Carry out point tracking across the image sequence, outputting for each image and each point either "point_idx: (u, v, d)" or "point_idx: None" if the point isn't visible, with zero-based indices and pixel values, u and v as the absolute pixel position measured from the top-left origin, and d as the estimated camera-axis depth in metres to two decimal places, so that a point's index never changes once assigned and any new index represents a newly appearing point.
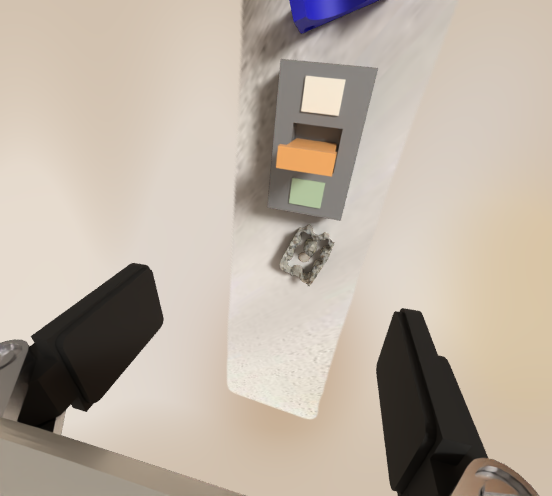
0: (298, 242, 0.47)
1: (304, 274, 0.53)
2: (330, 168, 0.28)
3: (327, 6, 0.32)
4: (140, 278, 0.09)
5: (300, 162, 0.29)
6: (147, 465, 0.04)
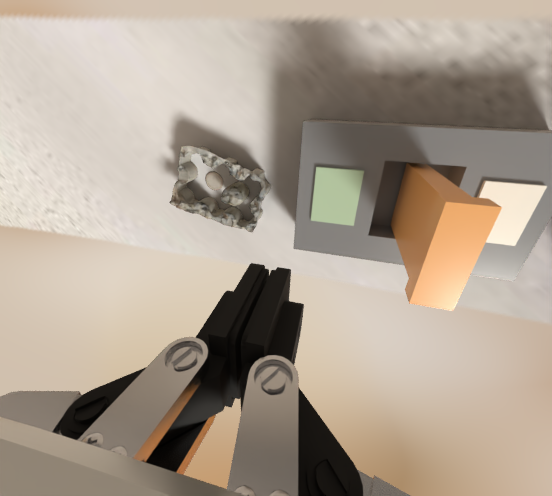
0: (240, 178, 0.28)
1: (185, 184, 0.32)
2: (426, 301, 0.15)
3: None
4: (264, 278, 0.10)
5: (448, 254, 0.14)
6: (147, 464, 0.04)
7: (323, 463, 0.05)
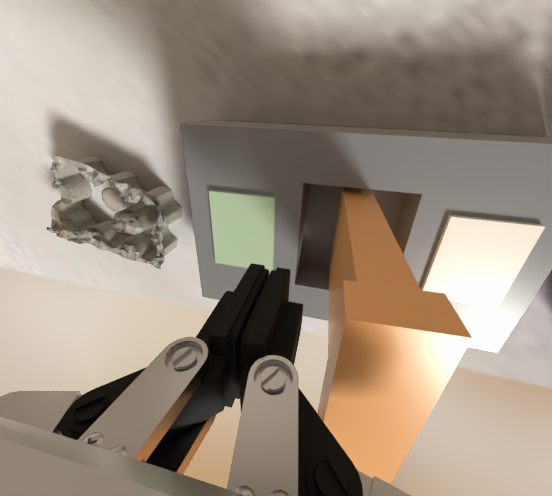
0: (131, 201, 0.20)
1: (77, 204, 0.24)
2: None
3: None
4: (264, 278, 0.10)
5: (368, 406, 0.07)
6: (147, 464, 0.04)
7: (323, 463, 0.05)
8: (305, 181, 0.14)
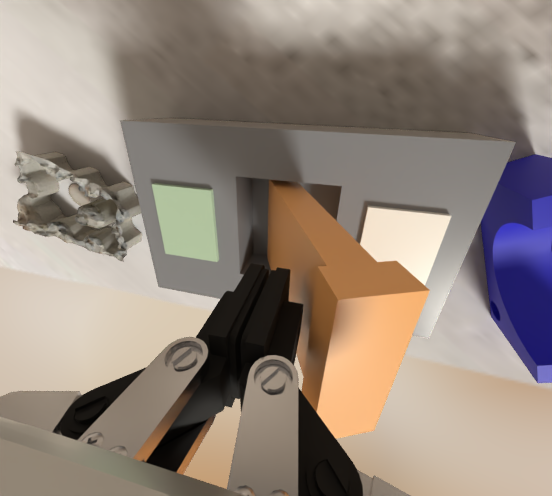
0: (91, 195, 0.21)
1: (45, 198, 0.25)
2: (334, 433, 0.09)
3: (516, 234, 0.16)
4: (264, 278, 0.10)
5: (356, 371, 0.07)
6: (147, 465, 0.04)
7: (323, 463, 0.05)
8: (237, 174, 0.15)
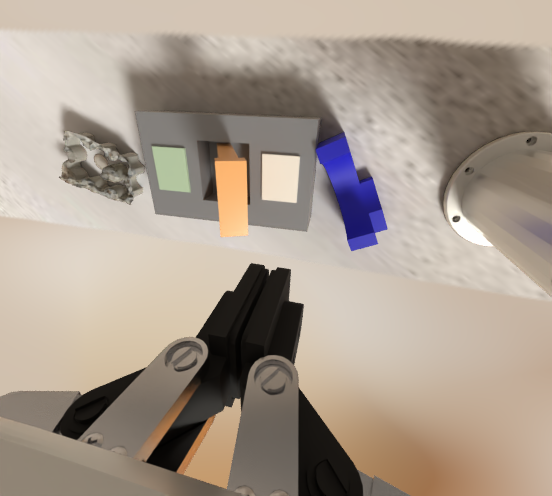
0: (112, 159, 0.34)
1: (77, 164, 0.38)
2: (230, 233, 0.23)
3: (338, 174, 0.30)
4: (264, 278, 0.10)
5: (230, 196, 0.21)
6: (148, 464, 0.04)
7: (323, 463, 0.05)
8: (197, 139, 0.28)
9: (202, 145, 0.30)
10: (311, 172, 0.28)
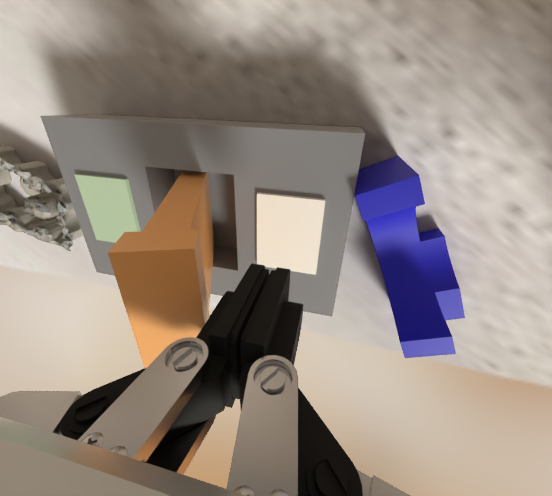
0: (35, 188, 0.23)
1: None
2: None
3: (385, 226, 0.18)
4: (265, 278, 0.10)
5: (161, 321, 0.09)
6: (147, 464, 0.04)
7: (322, 463, 0.05)
8: (146, 165, 0.16)
9: (159, 173, 0.18)
10: (345, 227, 0.15)
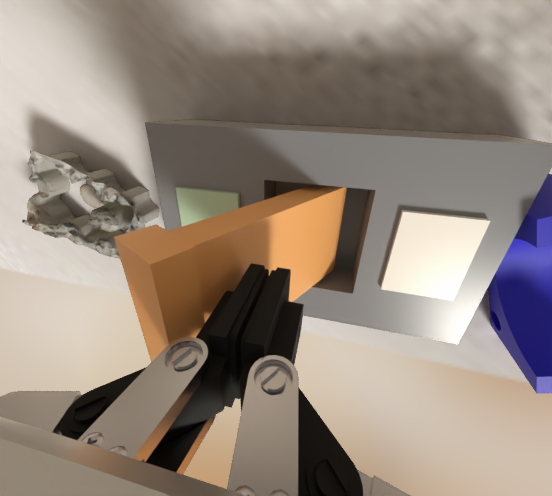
0: (107, 200, 0.21)
1: (55, 197, 0.25)
2: None
3: (518, 247, 0.16)
4: (264, 278, 0.10)
5: (146, 316, 0.09)
6: (148, 464, 0.04)
7: (323, 463, 0.05)
8: (266, 178, 0.14)
9: (269, 185, 0.16)
10: (503, 250, 0.13)
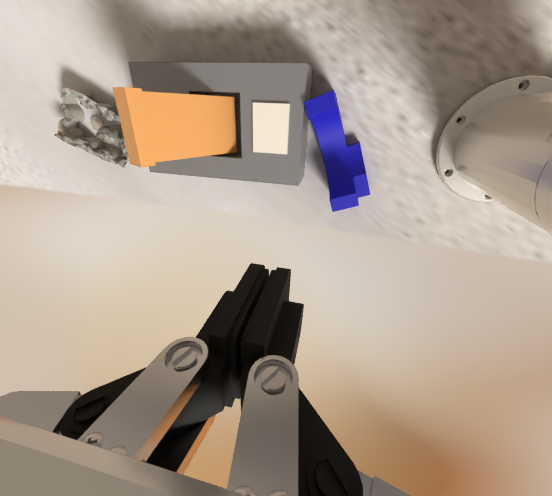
0: (108, 119, 0.35)
1: (74, 124, 0.39)
2: (133, 161, 0.25)
3: (326, 135, 0.31)
4: (264, 278, 0.10)
5: (125, 123, 0.23)
6: (147, 464, 0.04)
7: (323, 463, 0.05)
8: (189, 90, 0.29)
9: None
10: (301, 121, 0.28)
